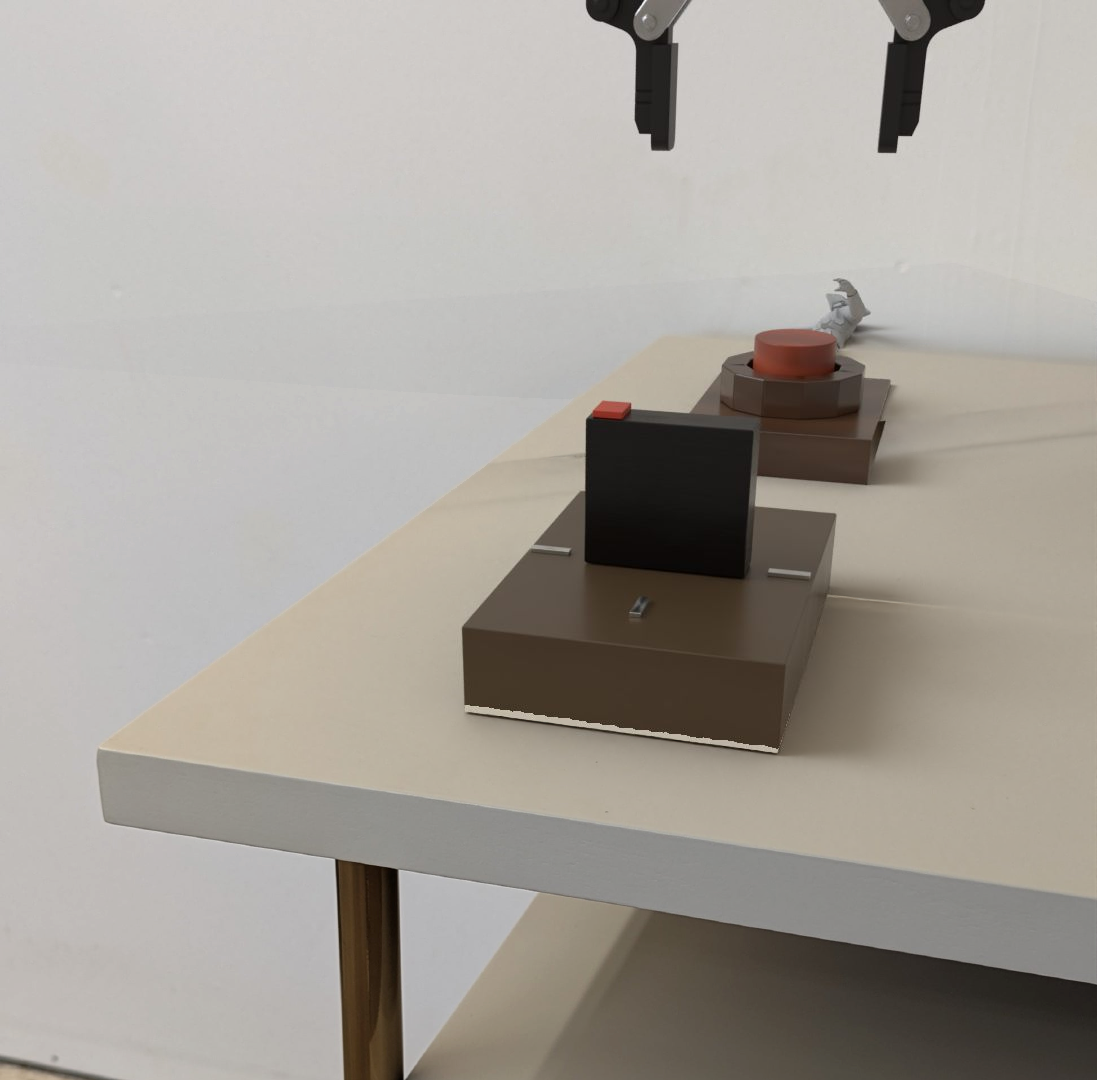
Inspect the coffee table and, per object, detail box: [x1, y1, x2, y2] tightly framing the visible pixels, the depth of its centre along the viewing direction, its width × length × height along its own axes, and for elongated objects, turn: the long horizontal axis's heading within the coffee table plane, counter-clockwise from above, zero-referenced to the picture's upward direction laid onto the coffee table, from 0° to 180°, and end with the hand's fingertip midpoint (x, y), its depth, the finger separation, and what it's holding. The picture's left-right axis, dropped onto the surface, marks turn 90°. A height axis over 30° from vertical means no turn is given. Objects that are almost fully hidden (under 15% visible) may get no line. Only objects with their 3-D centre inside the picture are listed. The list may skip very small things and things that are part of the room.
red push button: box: [753, 328, 837, 376], centre depth 69 cm, size 4×4×2 cm
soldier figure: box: [812, 277, 872, 353], centre depth 83 cm, size 8×5×12 cm
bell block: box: [689, 350, 892, 486], centre depth 70 cm, size 12×9×4 cm
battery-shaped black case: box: [584, 400, 761, 578], centre depth 47 cm, size 6×2×5 cm, turn 74°
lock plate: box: [461, 490, 837, 749], centre depth 48 cm, size 14×10×3 cm
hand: (772, 150), depth 54 cm, fingers open, 8 cm apart
